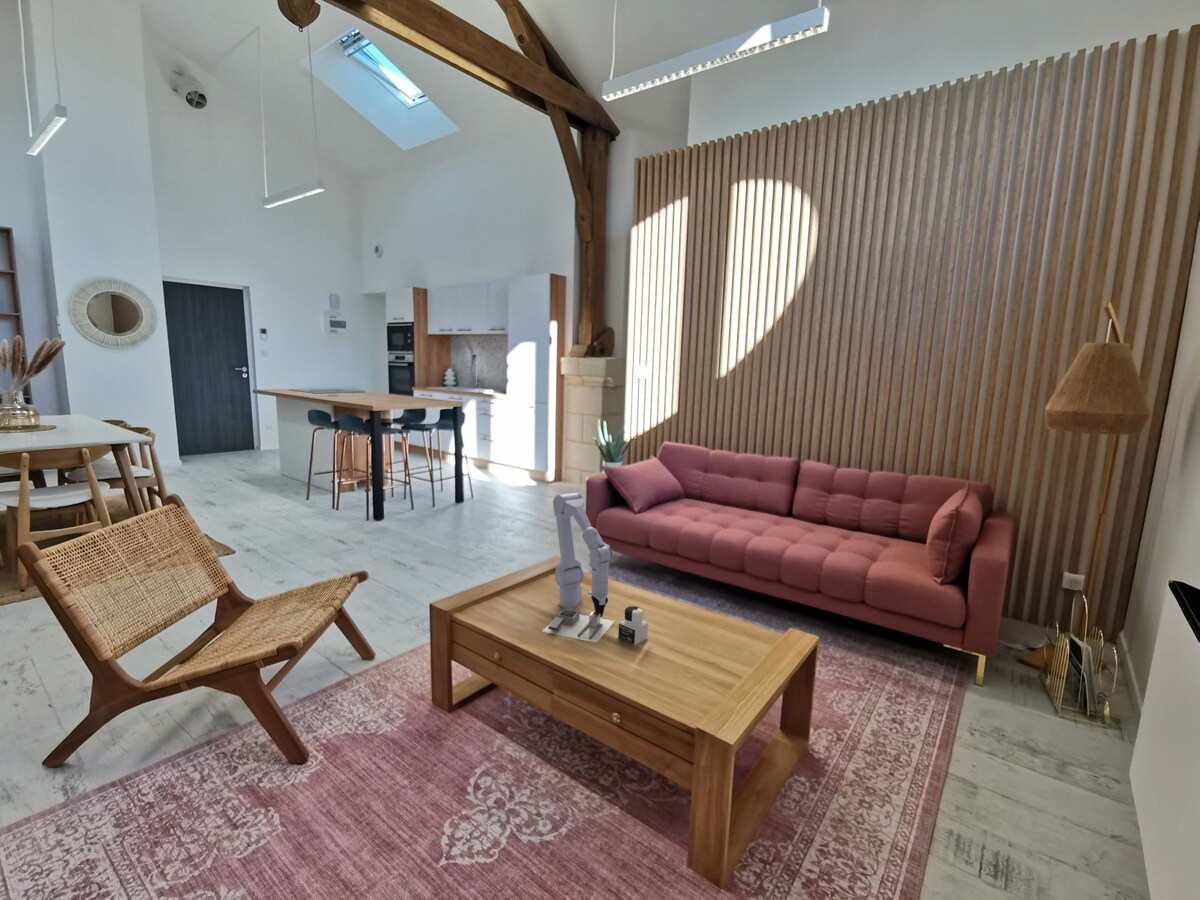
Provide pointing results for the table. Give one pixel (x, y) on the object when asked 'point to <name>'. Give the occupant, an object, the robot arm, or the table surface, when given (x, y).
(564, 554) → the robot arm
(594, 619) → the slider knob
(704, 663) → the table surface
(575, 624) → the panel
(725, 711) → the table surface
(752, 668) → the table surface
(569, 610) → the push button
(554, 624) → the rocker
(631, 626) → the medicine bottle
